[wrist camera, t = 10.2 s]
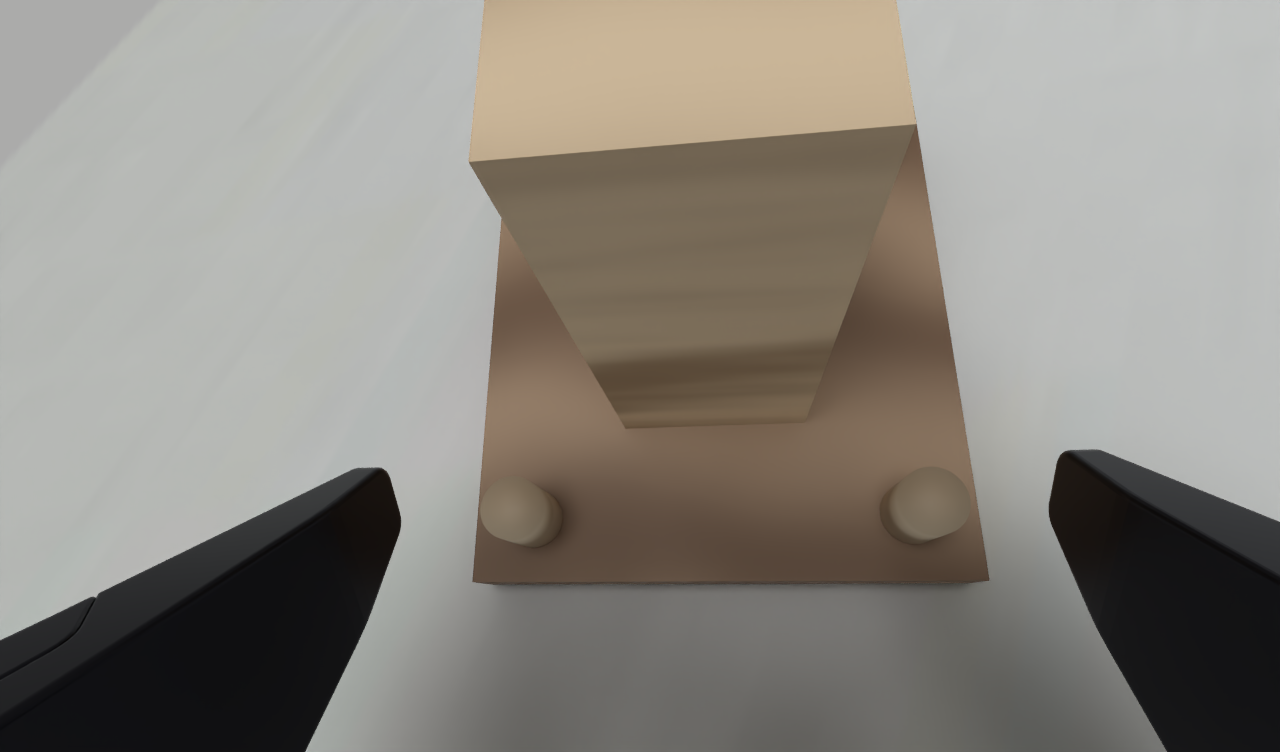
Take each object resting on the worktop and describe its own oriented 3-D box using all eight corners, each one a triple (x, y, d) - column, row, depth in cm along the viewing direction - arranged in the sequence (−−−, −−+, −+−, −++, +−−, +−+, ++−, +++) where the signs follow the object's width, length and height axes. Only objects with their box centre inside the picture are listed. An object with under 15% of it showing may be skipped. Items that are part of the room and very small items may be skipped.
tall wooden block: (804, 422, 17) (916, 124, 7) (625, 428, 17) (468, 161, 7) (788, 228, 19) (856, -243, 8) (626, 239, 19) (503, -191, 9)
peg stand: (967, 583, 17) (1025, 575, 13) (492, 584, 18) (439, 577, 15) (901, 140, 21) (932, 52, 18) (521, 170, 22) (485, 94, 19)
